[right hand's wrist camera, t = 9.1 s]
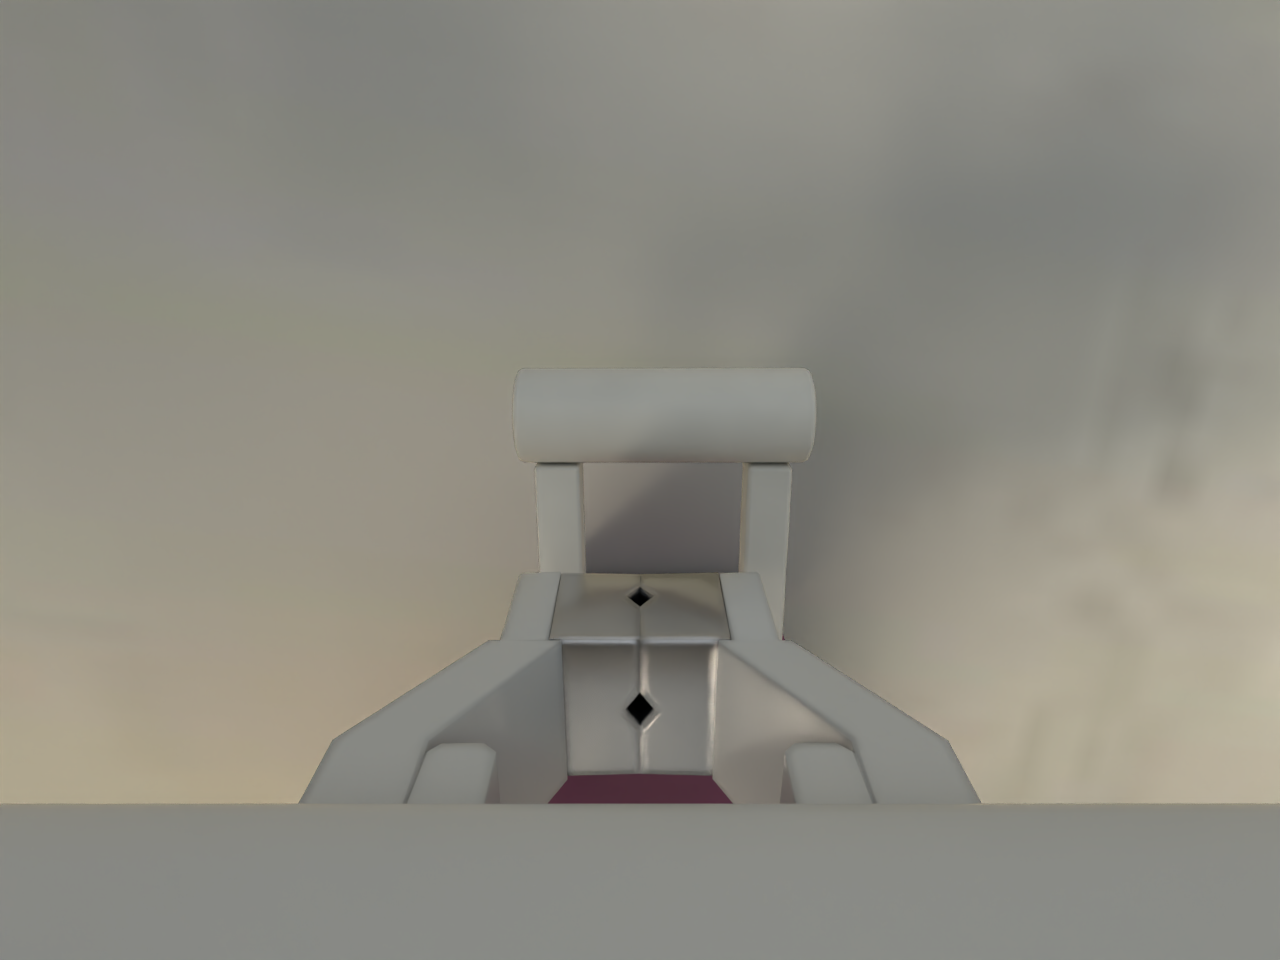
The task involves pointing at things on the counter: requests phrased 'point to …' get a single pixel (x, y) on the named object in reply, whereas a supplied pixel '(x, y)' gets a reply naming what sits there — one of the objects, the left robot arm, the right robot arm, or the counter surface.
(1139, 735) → the counter surface
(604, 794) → the drawer
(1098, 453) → the counter surface
